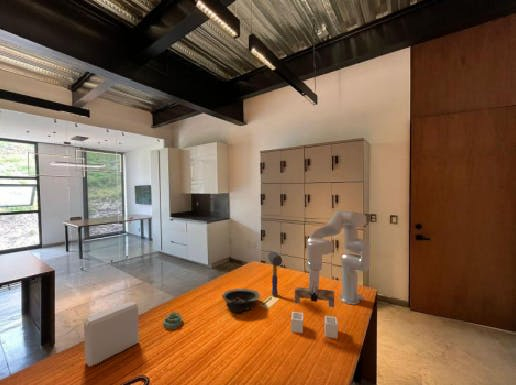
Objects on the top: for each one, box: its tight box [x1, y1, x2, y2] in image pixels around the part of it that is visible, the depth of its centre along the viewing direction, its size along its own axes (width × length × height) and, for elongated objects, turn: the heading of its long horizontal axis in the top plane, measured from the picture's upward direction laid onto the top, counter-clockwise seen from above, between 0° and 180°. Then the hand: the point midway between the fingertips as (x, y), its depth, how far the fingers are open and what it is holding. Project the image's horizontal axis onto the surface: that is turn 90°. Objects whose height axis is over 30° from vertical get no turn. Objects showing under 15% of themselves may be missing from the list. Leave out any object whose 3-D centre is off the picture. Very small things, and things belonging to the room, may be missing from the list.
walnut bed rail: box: [294, 286, 335, 308], centre depth 124 cm, size 20×4×7 cm, turn 77°
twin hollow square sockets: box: [290, 311, 339, 340], centre depth 124 cm, size 24×7×7 cm, turn 77°
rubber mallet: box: [267, 250, 283, 297], centre depth 163 cm, size 12×8×30 cm, turn 14°
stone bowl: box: [221, 288, 261, 313], centre depth 150 cm, size 25×25×9 cm
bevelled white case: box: [83, 300, 140, 367], centre depth 109 cm, size 21×8×20 cm, turn 141°
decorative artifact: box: [162, 311, 183, 330], centre depth 131 cm, size 10×7×10 cm
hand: (314, 299), depth 124 cm, fingers closed on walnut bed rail, 3 cm apart
